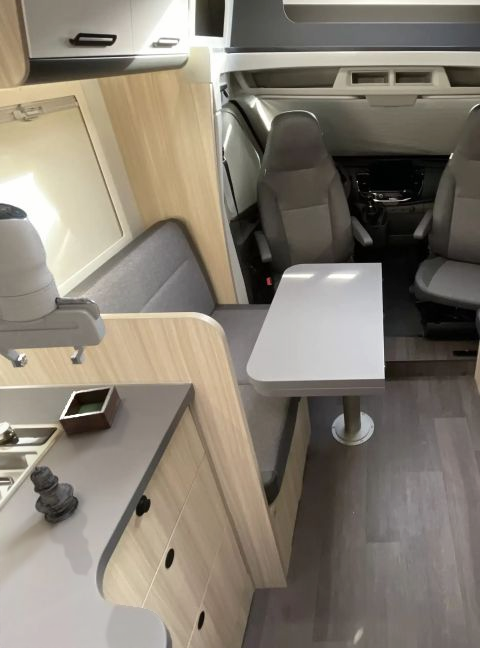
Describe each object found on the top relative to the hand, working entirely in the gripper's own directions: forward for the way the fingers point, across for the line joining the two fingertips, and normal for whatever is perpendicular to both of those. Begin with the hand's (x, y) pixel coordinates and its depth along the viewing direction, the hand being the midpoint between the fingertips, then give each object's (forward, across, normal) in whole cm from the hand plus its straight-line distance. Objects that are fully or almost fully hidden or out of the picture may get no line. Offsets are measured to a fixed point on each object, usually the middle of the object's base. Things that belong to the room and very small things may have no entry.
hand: (50, 363), depth 81 cm
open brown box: (+24, +2, -11) cm, 27 cm away
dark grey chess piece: (+24, -1, +12) cm, 28 cm away
